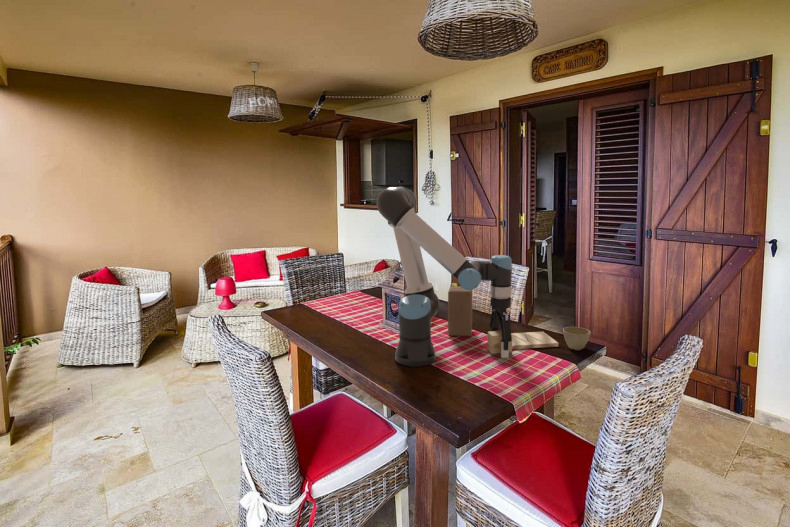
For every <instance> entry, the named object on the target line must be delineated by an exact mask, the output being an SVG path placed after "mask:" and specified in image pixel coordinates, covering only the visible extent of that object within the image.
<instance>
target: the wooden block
mask: <svg viewBox="0 0 790 527" xmlns="http://www.w3.org/2000/svg"><path fill="white" fill-rule="evenodd" d="M473 290H474V289H473ZM473 290H466V289H463V288H462V287H461V286H459V285H458V286H457V285H456V286H455V285H454V286H453V285H452V286H449V289H448V291H447V334H448V336H453V337H454V336H455V337H471V336H472V335H473Z"/></svg>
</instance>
